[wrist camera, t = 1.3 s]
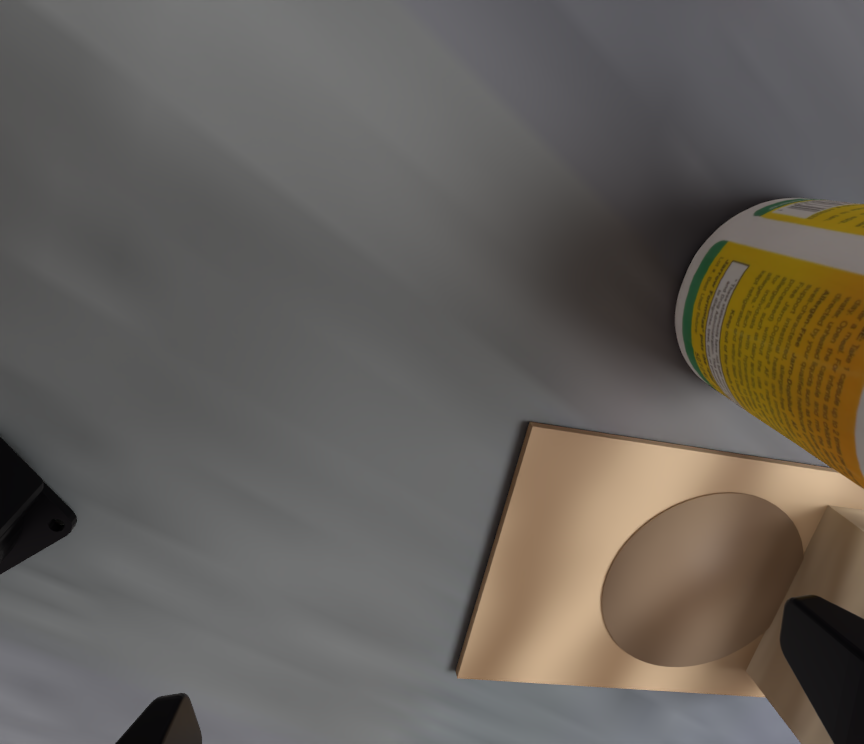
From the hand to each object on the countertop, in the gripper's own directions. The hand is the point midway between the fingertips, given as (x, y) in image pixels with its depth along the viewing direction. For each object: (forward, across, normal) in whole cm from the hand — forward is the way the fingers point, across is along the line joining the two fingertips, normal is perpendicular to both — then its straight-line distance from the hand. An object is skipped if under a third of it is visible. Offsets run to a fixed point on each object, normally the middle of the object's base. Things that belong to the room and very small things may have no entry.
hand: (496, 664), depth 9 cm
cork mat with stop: (+13, -9, +11) cm, 20 cm away
